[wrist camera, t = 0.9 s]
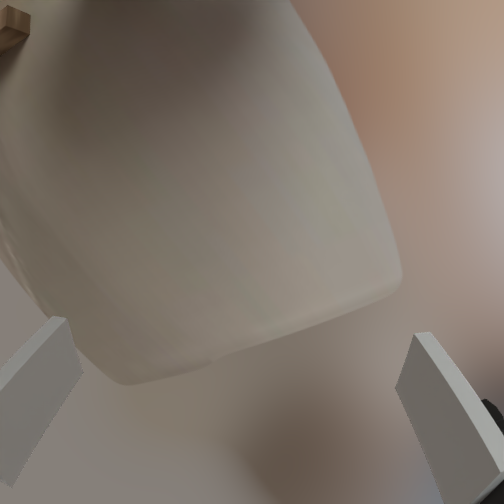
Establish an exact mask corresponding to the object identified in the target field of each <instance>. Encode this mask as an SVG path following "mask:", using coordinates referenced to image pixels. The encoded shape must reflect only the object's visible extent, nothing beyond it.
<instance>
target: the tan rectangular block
mask: <svg viewBox="0 0 504 504" xmlns="http://www.w3.org/2000/svg"><path fill="white" fill-rule="evenodd" d="M28 35H30V15H29V14H27V13H25V12H22V11H20V10H18V9H15V8H13V7H11V6H8V5H7V6H6V7H5V8H3V9H2V10H1V11H0V56H1V55H2V54H4V53H5V52H6V51H8V50H9V49H10V48H12V47H13V46H14V45H16V44H17V43H18V42H20V41H21V40H23V39H24V38H25V37H27V36H28Z"/></svg>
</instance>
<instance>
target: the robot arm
mask: <svg viewBox="0 0 504 504" xmlns="http://www.w3.org/2000/svg"><path fill="white" fill-rule="evenodd" d="M82 374H83V369H82V366H81V363H80V360H79V357H78V354H77V351H76V348H75V344H74V341H73V338H72V334H71V331H70V327H69V323H68V319H67V318H63V317H57V316H52V317H51V318H50V319H49V320H48V321H47V322H46V323H45V324H44V325H43V326H42V327H41V328H40V329H39V330H38V331H37V332H36V333H35V334H34V335H33V336H32V337H31V338H30V339H28V340H27V342H26V343H25V344H24V345H23V346H22V347H21V348H20V349H19V350H18V351H17V352H16V353H15V354H14V355H13V356H12V357H11V358H10V359H9V360H8V361H7V362H6V363H5V364H4V365H3V366H2V367H1V369H0V481H1V482H2V483H4V484H6V485H7V486H9V487H11V488H12V487H13V485H14V483H15V482H16V480H17V478H18V476H19V475H20V473H21V471H22V469H23V468H24V466H25V464H26V462H27V461H28V459H29V457H30V455H31V454H32V452H33V450H34V449H35V447H36V445H37V444H38V442H39V441H40V439H41V437H42V436H43V434H44V432H45V430H46V429H47V428H48V426H49V424H50V423H51V421H52V420H53V418H54V417H55V415H56V413H57V412H58V410H59V409H60V407H61V406H62V404H63V402H64V401H65V400H66V398H67V397H68V395H69V393H70V392H71V390H72V389H73V387H74V386H75V384H76V383H77V382H78V380H79V379H80V377H81V376H82ZM395 389H396V391H397V393H398V395H399V397H400V400H401V402H402V404H403V406H404V408H405V411H406V413H407V415H408V417H409V419H410V421H411V424H412V426H413V428H414V430H415V433H416V435H417V437H418V440H419V442H420V445H421V447H422V449H423V451H424V454H425V456H426V459H427V461H428V464H429V466H430V469H431V471H432V473H433V476H434V478H435V481H436V484H437V486H438V489H439V492H440V494H441V497H442V499H443V502H444V504H504V419H503V416H502V414H501V413H500V412H499V410H498V409H497V407H496V406H494V405H493V404H492V403H491V402H489V401H488V400H487V399H484V400H480V399H479V397H478V396H477V394H476V393H475V392H474V390H473V389H472V387H471V386H470V384H469V383H468V381H467V380H466V379H465V377H464V376H463V375H462V373H461V372H460V370H459V369H458V368H457V366H456V365H455V364H454V362H453V361H452V360H451V358H450V357H449V356H448V354H447V353H446V352H445V350H444V349H443V348H442V346H441V345H440V344H439V343H438V341H437V340H436V339H435V337H434V336H433V335H432V333H431V332H426V333H414V335H413V338H412V342H411V345H410V348H409V351H408V354H407V357H406V360H405V363H404V365H403V368H402V371H401V374H400V376H399V379H398V383H397V384H396V387H395Z"/></svg>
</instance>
